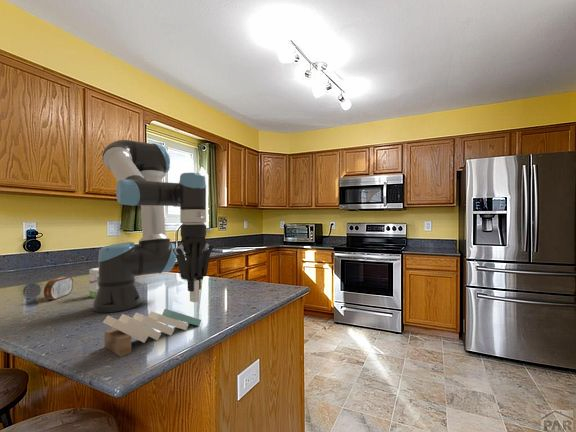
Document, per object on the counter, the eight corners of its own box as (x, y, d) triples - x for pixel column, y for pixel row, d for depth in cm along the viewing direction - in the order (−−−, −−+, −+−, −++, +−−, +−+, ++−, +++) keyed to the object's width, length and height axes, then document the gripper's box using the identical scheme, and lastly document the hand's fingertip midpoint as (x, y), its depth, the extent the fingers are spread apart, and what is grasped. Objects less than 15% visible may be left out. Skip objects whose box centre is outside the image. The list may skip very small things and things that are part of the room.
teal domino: (199, 326, 89) (171, 318, 82) (189, 322, 92) (162, 314, 85) (201, 319, 90) (174, 311, 83) (191, 316, 93) (164, 308, 86)
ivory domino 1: (144, 342, 76) (111, 326, 70) (135, 338, 79) (102, 322, 73) (148, 335, 77) (116, 319, 71) (139, 331, 80) (107, 315, 74)
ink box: (95, 298, 124) (94, 269, 124) (89, 296, 126) (88, 269, 127) (115, 293, 131) (115, 266, 131) (109, 292, 134) (109, 266, 134)
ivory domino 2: (157, 340, 79) (126, 324, 73) (147, 336, 82) (117, 320, 76) (161, 333, 80) (131, 317, 74) (151, 329, 83) (122, 313, 77)
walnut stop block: (104, 347, 75) (104, 331, 75) (114, 343, 77) (114, 328, 77) (120, 356, 70) (120, 339, 70) (131, 352, 72) (131, 336, 72)
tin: (67, 293, 134) (67, 274, 134) (74, 292, 134) (74, 274, 134) (42, 302, 119) (42, 281, 119) (51, 302, 119) (51, 281, 119)
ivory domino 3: (171, 335, 82) (141, 322, 76) (161, 331, 85) (132, 319, 79) (174, 329, 83) (145, 315, 76) (165, 325, 86) (136, 312, 80)
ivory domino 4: (186, 330, 86) (156, 321, 79) (176, 326, 89) (147, 317, 82) (188, 324, 86) (160, 314, 80) (179, 320, 90) (150, 311, 83)
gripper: (181, 224, 84) (182, 308, 83) (218, 223, 94) (219, 298, 94) (167, 224, 88) (167, 304, 88) (203, 223, 99) (204, 295, 98)
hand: (194, 301), depth 91 cm, fingers closed
